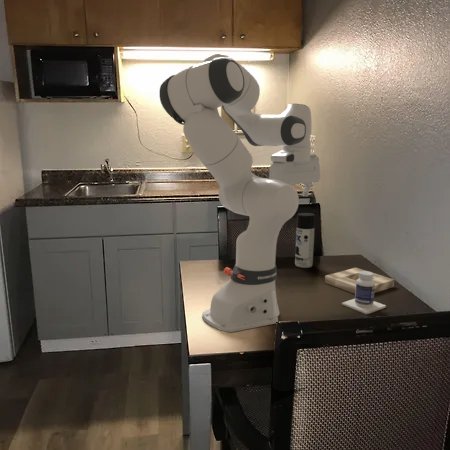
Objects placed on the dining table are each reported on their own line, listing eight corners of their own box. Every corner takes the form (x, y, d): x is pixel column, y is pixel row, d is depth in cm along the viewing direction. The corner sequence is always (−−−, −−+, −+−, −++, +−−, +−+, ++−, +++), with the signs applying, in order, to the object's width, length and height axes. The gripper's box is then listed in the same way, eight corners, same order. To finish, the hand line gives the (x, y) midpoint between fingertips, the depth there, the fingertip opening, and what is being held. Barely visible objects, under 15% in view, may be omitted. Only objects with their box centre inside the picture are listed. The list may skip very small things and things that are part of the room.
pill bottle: (374, 308, 138) (376, 276, 136) (355, 306, 139) (357, 275, 137) (372, 301, 143) (374, 270, 141) (354, 299, 144) (356, 269, 142)
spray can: (291, 263, 182) (293, 212, 178) (307, 262, 184) (310, 212, 180) (299, 268, 176) (301, 216, 172) (315, 267, 178) (318, 215, 174)
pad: (366, 314, 135) (366, 312, 135) (342, 304, 142) (342, 302, 142) (385, 307, 140) (386, 305, 140) (361, 298, 147) (361, 296, 147)
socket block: (363, 296, 149) (363, 289, 148) (324, 282, 161) (325, 275, 161) (393, 286, 158) (394, 279, 157) (355, 274, 170) (355, 267, 170)
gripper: (311, 153, 162) (310, 193, 165) (266, 156, 150) (265, 198, 153) (325, 154, 157) (323, 195, 160) (280, 157, 145) (278, 201, 148)
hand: (294, 197), depth 157 cm, fingers open, 8 cm apart
